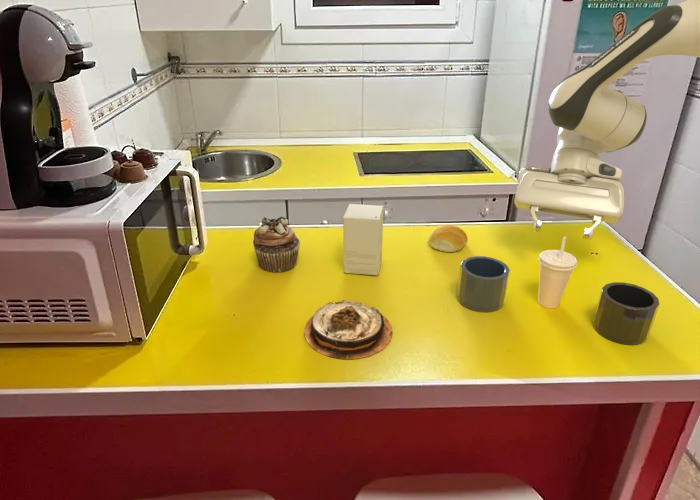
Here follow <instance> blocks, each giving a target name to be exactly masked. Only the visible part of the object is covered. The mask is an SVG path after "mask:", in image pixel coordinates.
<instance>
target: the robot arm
mask: <svg viewBox="0 0 700 500" xmlns="http://www.w3.org/2000/svg"><path fill="white" fill-rule="evenodd" d="M660 56H685V57H694V58H700V0H683V1H682V2H679V3H677V4H672V5H666V6H663V7H661V8H659V9H658V10H657V9H656V11H654V12H652V13H651V14H650V15H648V16H647V17H645V18H644V19H643V20H642V21H640V22H639V23H638V24H637V25H635V26H634V27H632V28H631V29H630V30H628V31H627V32H626V33H625V34H624V35H622V36H621V37H619V39H617V40H616V41H614V42H613V43H612V44H611V45H610V46H609V47H607V48H605V50H604V51H603V52H601V53H600V54H598V55H597V56H596V57H595V58H594V59H592V60H591V61H589V63H587V64H586V65H584V66H583V67H582V68H580V69H579V70H576V71H575V72H573V73H572V74H570V75H568V76H567V77H565V78H563V79H562V80H561V81H560V82H559V83H558V84H557V85H556V86H555V87H554V89H552V91H551V93H550V96H549V97H548V101H547V109H548V114H549V117H550V119H551V122H552V124H553V125H554V126H555V127H558V131H557V136H556V149H555V151H554V152H553V155H552V159H551V165H550V168H548V167H536V166H531V165H529V166H527V167H524V168H522V169H520V170H519V171H518V175H517V183H518V185H517V188H516V191H515V195H514V201H513V202H514V206H515V207H516V208H517V209H520V210H525V211H530V213H529V215H530V218H531V220H532V223H533V225H532V231H534V232H541V229H542V223H543V220H539V219H538V214H539V212H540V213H546V214H553V215H559V216H566V217H572V218H578V219H579V218H580V219H583V220H584V219H585V220H590V221H591V226H590V227H585V228H584V230H583V235H582V239H583V240H588V241H591V240H592V238H593V234H594V231H595V230H597V228H598V227H599V226H600V225H601V222H605V223H611V224H616V223H618V222H619V221H620V220H621V219H622V217H623V215H624V211H625V188H624V186H623V184H622V183H621V181H622V177H623V171H622V169H621V168H619V167H617V166H614V165H612V164H609V163H607V162H606V161H602V160H600V156H601V154H603V153H612V152H615V151H619V150H621V149H625V148H627V147H629V146H631V145H633V144H634V143H636V142H638V140H639V139H640V138H641V136H642V135H643V132H644V130H645V127H646V125H647V120H648V119H647V118H648V113H647V109H646V107H645V106H644V105H643V104H642V103H640V102H639V101H637V100H636V99H634V98H631V97H630V96H627V95H625V94H624V93H621V92H619V91H617V90H615V89H613V88H611V87H609V86H610V85H612V84H613V83H615V82H616V81H617V80H619V79H620V78H621V77H623V76H624V75H626V74H627V73H628V72H630V71H631V70H632V69H634V68H635V67H636V66H637V65H638V64H641V63H642V62H645V61H646V60H648V59H651V58H655V57H660Z"/></svg>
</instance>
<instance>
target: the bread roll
mask: <svg viewBox="0 0 700 500" xmlns="http://www.w3.org/2000/svg"><path fill="white" fill-rule="evenodd" d="M468 241H469V238H468V235H467V233H466V232H465V230H463V229H462V228H460V227H459V226H456V225H452V224H448V225H443V226H440V227H437V228H435V229H434V230H433V231H432V232H431V234H430V235H429V236H428V245H429V246H430V247H431V248H433V249H435V250H437V251H441V252H444V253H454V252H455V253H456V252H459V251H461V250H462V249H463V248H464V247H465V246H466V244H467V243H468Z"/></svg>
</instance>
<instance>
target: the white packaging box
mask: <svg viewBox="0 0 700 500" xmlns="http://www.w3.org/2000/svg"><path fill="white" fill-rule="evenodd" d="M342 226H343V227H342V228H343V229H342V230H343V235H342V236H343V272H344V274H354V275H364V276H365V275H366V276H379V274H380V269H381V265H382V261H383V238H384V237H383V233H384V205H377V204H376V205H373V204H360V203H359V204H357V203H349V204H348V206H347V209H346V210H345V213H344V215H343V216H342Z"/></svg>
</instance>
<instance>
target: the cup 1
mask: <svg viewBox="0 0 700 500" xmlns="http://www.w3.org/2000/svg"><path fill="white" fill-rule="evenodd" d="M510 272H511V271H510V268H509V266H508V264H506V263H505V262H504V261H501V260H499V259H497V258H495V257H490V256H486V255H485V256H484V255H475V256H471V257H470V256H469V257H467V258H465V259H463V260H462V261H461V263H460V267H459V274H458V283H457V292H456V294H457V296H456V299H457V301H458V303H459V304H460V305H461V306H463V307H464V308H466V309H468V310H470V311H474V312H478V313H493V312H496V311H499V310H501V309H502V308H503V306H504V303H505V300H506V294H507V288H508V281H509V276H510Z"/></svg>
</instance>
